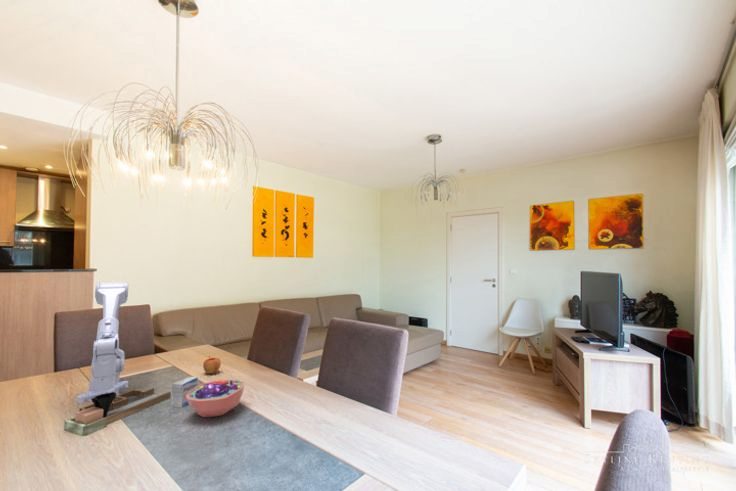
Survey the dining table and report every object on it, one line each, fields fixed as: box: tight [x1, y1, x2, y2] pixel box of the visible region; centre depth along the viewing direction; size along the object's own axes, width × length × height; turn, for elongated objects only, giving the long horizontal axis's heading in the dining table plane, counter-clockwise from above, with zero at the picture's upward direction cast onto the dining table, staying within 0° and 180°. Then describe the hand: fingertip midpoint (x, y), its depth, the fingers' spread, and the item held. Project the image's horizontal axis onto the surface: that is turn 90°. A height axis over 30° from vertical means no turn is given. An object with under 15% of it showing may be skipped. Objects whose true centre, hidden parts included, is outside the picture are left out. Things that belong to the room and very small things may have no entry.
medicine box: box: [171, 376, 199, 408], centre depth 123 cm, size 8×4×9 cm, turn 168°
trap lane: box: [63, 387, 172, 437], centre depth 116 cm, size 15×29×3 cm, turn 160°
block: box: [74, 407, 103, 425], centre depth 105 cm, size 5×5×4 cm
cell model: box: [186, 379, 245, 418], centre depth 117 cm, size 17×20×11 cm
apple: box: [202, 355, 221, 375], centre depth 156 cm, size 7×7×8 cm
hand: (102, 416), depth 109 cm, fingers closed
